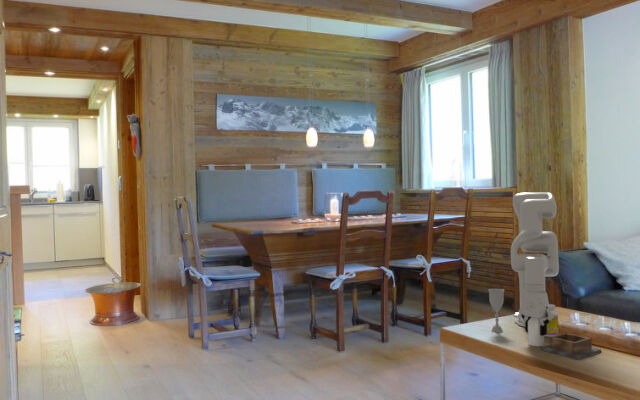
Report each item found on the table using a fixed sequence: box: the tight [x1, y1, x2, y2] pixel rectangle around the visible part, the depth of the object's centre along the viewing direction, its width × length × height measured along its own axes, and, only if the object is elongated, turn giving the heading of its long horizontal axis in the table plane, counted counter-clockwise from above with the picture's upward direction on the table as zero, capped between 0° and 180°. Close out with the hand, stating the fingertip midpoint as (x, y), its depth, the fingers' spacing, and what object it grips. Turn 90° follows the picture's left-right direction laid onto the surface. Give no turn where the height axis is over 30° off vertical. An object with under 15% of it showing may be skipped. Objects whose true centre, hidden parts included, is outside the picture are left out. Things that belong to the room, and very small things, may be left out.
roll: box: [527, 317, 545, 347], centre depth 212 cm, size 6×12×6 cm
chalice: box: [487, 288, 505, 333], centre depth 234 cm, size 7×7×18 cm
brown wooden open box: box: [540, 332, 602, 360], centre depth 203 cm, size 15×15×5 cm
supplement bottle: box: [544, 303, 559, 338], centre depth 225 cm, size 7×7×13 cm
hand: (536, 332), depth 212 cm, fingers closed on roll, 5 cm apart
